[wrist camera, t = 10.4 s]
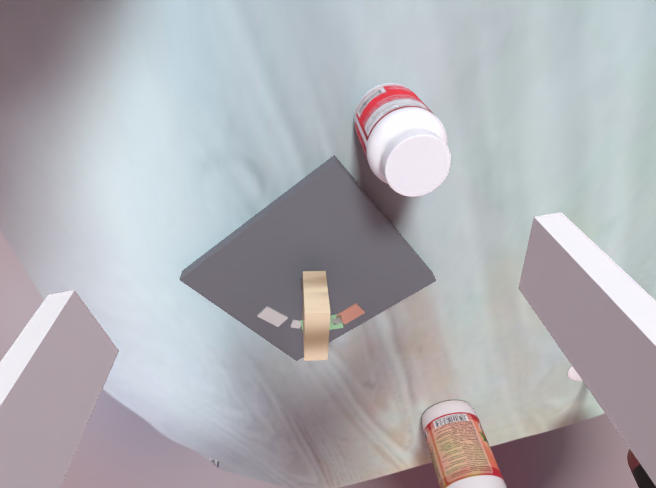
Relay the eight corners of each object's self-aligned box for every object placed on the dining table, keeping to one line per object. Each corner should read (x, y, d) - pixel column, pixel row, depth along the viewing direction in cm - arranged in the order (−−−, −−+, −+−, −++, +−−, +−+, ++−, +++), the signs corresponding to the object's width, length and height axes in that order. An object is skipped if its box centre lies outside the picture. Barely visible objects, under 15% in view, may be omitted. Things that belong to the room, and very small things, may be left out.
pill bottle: (408, 151, 38) (445, 209, 29) (347, 144, 37) (366, 203, 28) (427, 85, 34) (475, 129, 26) (360, 75, 34) (385, 118, 25)
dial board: (182, 270, 45) (178, 280, 43) (334, 155, 38) (336, 162, 36) (296, 351, 55) (296, 362, 53) (432, 272, 48) (436, 281, 46)
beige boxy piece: (300, 258, 43) (302, 313, 36) (325, 257, 43) (332, 312, 36) (300, 334, 50) (302, 391, 43) (322, 333, 50) (327, 390, 44)
